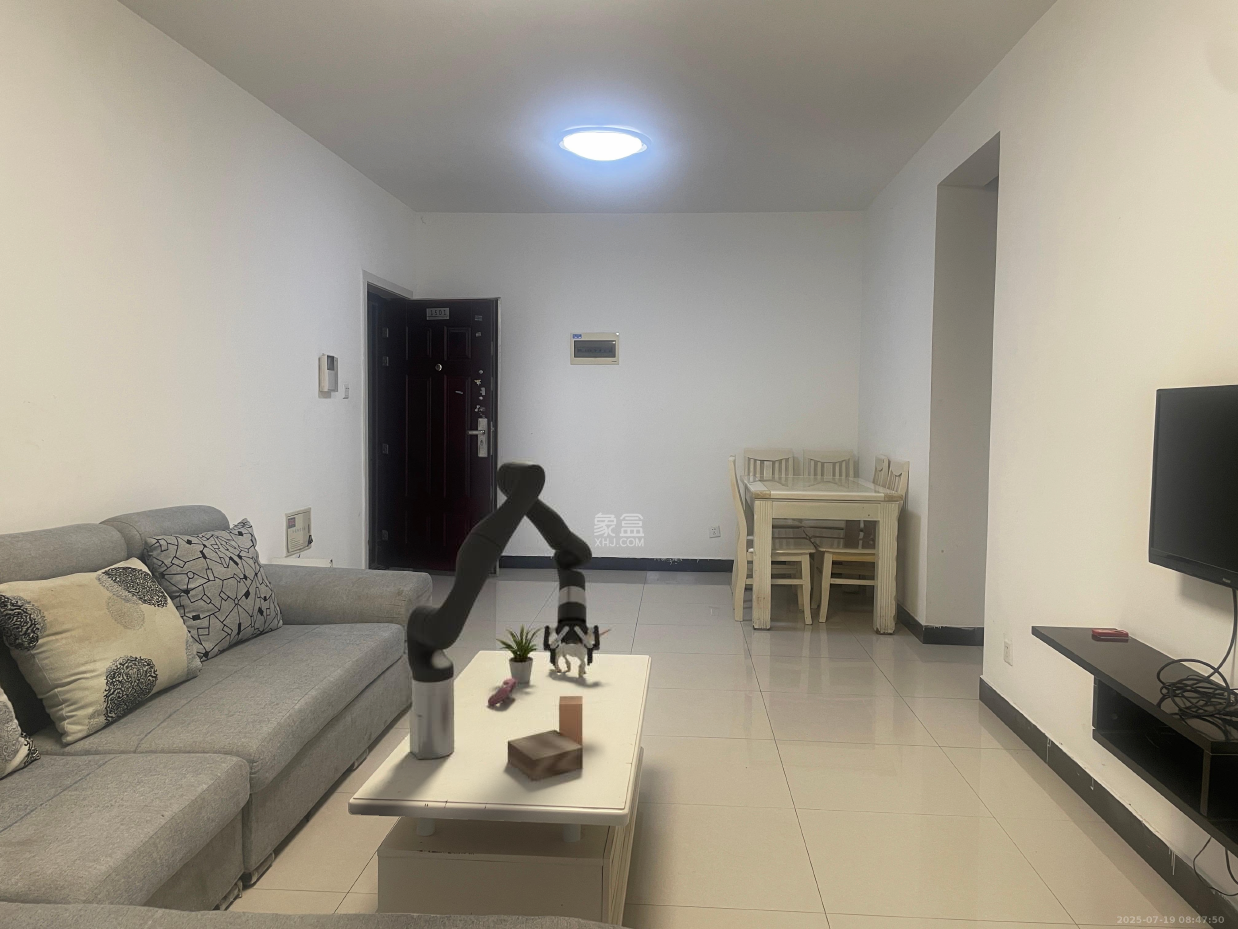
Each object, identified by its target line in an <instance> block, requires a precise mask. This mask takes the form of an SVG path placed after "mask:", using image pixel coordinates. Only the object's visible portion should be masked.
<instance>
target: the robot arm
mask: <svg viewBox="0 0 1238 929" xmlns="http://www.w3.org/2000/svg"><path fill="white" fill-rule="evenodd" d="M495 475H496V476H495V477H496V478H495V480H496V485H497V488H498V489H499V491H500V492H501V493H502V494H503V496H504V497H505V498H506V499H505V500H504V502H502V504H500V506H498V508H496V509H495V510H494V511H492V512H491V513H490V514H488V515H487V516H486V517H484V518H483V519H482V520H481V521H479V522H477V524H475V526H473V527H472V529H471V530H470V531H469V533H468V534H467V536H466V538H465V540H464V541H463V543H462V544H461V547H460V548H459V550H458V552H457V556H456V559H455V560H456V562H455V575H454V576H455V577H454V582H453V585H452V588H451V589H450V592H449V593H448V595H447V597H446V599H445V600H444V602H443V603H442V605H435V604H425V603H423V604H420V605H418V606H416V607H415V608H414V609H413V610H412V611H411V613H410V615H409V617H408V619H407V624H406V646H407V647H406V648H407V661H408V665H409V669H410V671H411V680H412V681H411V683H412V684H411V685H412V686H411V690H412V691H411V698H412V701H411V702H412V707H411V709H409V751H410V752H411V753H412V754H413V755H414V757H415V758H416V759H417V760H422V759H425V760H428V759H429V760H430V759H431V760H432V759H437V758H438V759H439V758H444V757H447V756H449V755H451V754H452V753H453V752H454V751H455V666H454V663H453V661H452V660H451V659H450V658H449V657H448V656H447V655H446V653H445V652H444V650H447V649H449V648H450V647H451V646H453V645H454V644H455V643H456V641H457V640H458V638H459V637H460V635H461V633H462V632H463V629H464V626H465V624H466V623H467V620H468V618H469V615H470V613H471V611H472V608H473V607H474V606H475V605H474V604H475V602H476V600H477V598H478V596H480V593H481V591H482V589H483V587H484V585H485V584H486V582H487V580H488V578H489V576H490V574H491V573H492V571H493V569H494V568H495V567H496V565H497V563H498V561H499V560H500V558H501V557H502V555H503V553H504V552H505V551H504V550H505V549H506V547H507V545H508V543H509V542H510V540H511V539H512V537H513V535H514V533H515V532H516V530H517V529H518V527H519V525H520V523H521V522H522V521H523V519H524V517H526V518H527V519H528V520H529V521H530V523H531V524H533V526H534V527H535V528H536V530H537V531H538V532H539V533H540V536H542V538H543V539H544V541H545V542H546V543H547V545H548V546H549V547H550V549H552V550H554V552H553V556H552V557H553V563H554V565H555V566H554V567H555V569H556V572H557V576H558V596H557V608H556V609H557V617H556V618H557V621H556V622H557V623H556V626H555V627H550V625H548V624H547V625H545V626H544V627H545V628H544V633H543V643H542V647H543V648H542V649H543V651H544V652H549V661H550V662H549V663H550V664H551V665H552V666H553V667H554V666H556V650H557V649H558V648H560V647H561V646H562V644H563V643H565V644H566V645H568V644H578V643H580V644H581V645H582V646H583V647H585V648H586V650H587V655H586V666H587V667H588V666H589V667H590V666H591V664H593V662H594V658H593V657H594V652H595V651H600V648H601V637H600V638H599V633H600V630H599V625H597V624H596V625H593V627H592V626H589V627H588V625H587V608H588V607H587V596H586V577H585V575H584V573H583V572H581V571H579V569H581V568H584V567H587V566H589V565H590V564H591V562H592V560H593V552H592V549H591V547H590V546H589V544H588V543H587V542H586V541H585V540H584V539H582V538H581V537H579V535H577V534H575V532H573V531H572V530H571V529H570V528H569V526H568V525H567V523H566V522H565V521H564V519H563V518H562V517H561V515H560V514H559V513H558V512H557V511H555V510H554V508H552V507H551V506H549V505H548V504H547V503H546V502H544V501H543V500H542V499H540V498H539V497H540V495H541V494H542V491H543V489H544V487H545V483H546V471H545V468H544V467H543V466H542V465H540V464H538V463H535V462H530V461H517V460H516V461H515V460H511V461H505V462H504V463H502V464H501V465H500V466H499V468H498V469H497V472H496V474H495ZM588 632H589V633H591V635H592V636H594V642H595V643H594V642H593V643H592V641H591V642H590V641H589V640H588V638H587V637H586V635H587V634H588ZM553 634H555V635H556V639H555V638H554V639H555V641H554V642H553V643H552V644H551V643H550V637H552V636H553Z"/></svg>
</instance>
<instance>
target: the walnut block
mask: <svg viewBox="0 0 1238 929" xmlns="http://www.w3.org/2000/svg"><path fill="white" fill-rule="evenodd" d="M583 749H584V747H583V745H582V746H580V745H579V744H577V743H576V742H574V741H572V740H571V739H569V738H568V737H566V736H565V735H563V734H561V733H560V732H559V730H557V729H552V730H547V731H543V732H539V733H535V734H532V735H531V734H530V735H527V736H524V737H523V736H522V737H518V738H515V739H511V740H507V762H508V764H509V765H511V766H512V767H514V768H515V769H516V770H517V769H518V770H517V771H519V772H520V773H521V772H522V773H521V774H522V775H524V776H525V775H526V776H527V778H528V779H529V780H530V779H531V780H530V781H532V782H533V781H535V782H538V781H537V780H539V781H541V779H543V780H546V779H550V778H553V777H556V775H557V776H560V775H563V774H567V773H570V772H574V771H577V770H578V771H579V770H581V769H583V766H584V764H583V762H584V760H583V759H584V757H583V755H584V753H583V751H584V750H583ZM526 776H525V777H526ZM552 776H553V777H552ZM549 777H550V778H549ZM545 778H546V779H545Z"/></svg>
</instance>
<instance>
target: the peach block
mask: <svg viewBox="0 0 1238 929" xmlns="http://www.w3.org/2000/svg"><path fill="white" fill-rule="evenodd" d="M558 732H560V733H561V734H563V735H565V736H566V737H568V738H569V739H571V740H572V741H574V742H576V743H577V744H579V745H580V746H582V747H583V695H571V696H570V695H565V696H564V695H561V696H560V695H559V700H558Z"/></svg>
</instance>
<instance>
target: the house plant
mask: <svg viewBox="0 0 1238 929" xmlns="http://www.w3.org/2000/svg"><path fill="white" fill-rule="evenodd" d="M524 625H525V624H523V623H522V624H521V626H520V630H519V631H520V632H519V636H518V634H517V633H516V631H511V630H512V628H510V627H509V629H511V630H509V629H507V628H503V627H501V628H502V629H503V630H505V631H506V632H507V633H509V635H510V636H511V638H512V640H511V639H510V637H508V636H507V635H505V634H504V633H501V632H500V634H501V635H504V637H506V638H507V639H508V640H509V641H511V643H512V644H510V643H509V642H507V641H505V640H503V639H501V638H495V640H496V641H498V642H500V644H501V645H502V646H503V647H500V648H499V649H498V650H502V649H503V650H504V649H507V650H508V651H510V653H511V654H512V655H513V656H512V657H510V658H508V664H509V670H510V675H511V677H510V678H512V679H516V680H517V681H518V683H517V684H525V683H528V682H530V681H531V676H532V668H533V662H534V658H533V657H532V656H529V655H530V654H531V653H532V652H534V651H535V652H537V650H538V648H536V647H537V646H538V647H540V645H538V644H532V643H533V642H534V640H535V639H536V638H537V637H538V636H539V635H540V633H538V632H540V631H541V630H542V629H545V626H543V627H540V628H538V629H536V628H532V629H530V630H529V628H528V629H527V630H526V633H525V636H524V632H525V626H524ZM535 629H536V630H535ZM533 630H535V631H534V632H533V633H532V634H531V636H530V637H528V636H529V634H530V632H531V631H533ZM537 633H538V634H537Z"/></svg>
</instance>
